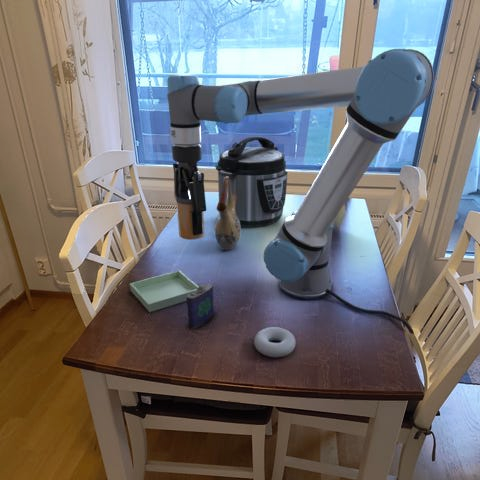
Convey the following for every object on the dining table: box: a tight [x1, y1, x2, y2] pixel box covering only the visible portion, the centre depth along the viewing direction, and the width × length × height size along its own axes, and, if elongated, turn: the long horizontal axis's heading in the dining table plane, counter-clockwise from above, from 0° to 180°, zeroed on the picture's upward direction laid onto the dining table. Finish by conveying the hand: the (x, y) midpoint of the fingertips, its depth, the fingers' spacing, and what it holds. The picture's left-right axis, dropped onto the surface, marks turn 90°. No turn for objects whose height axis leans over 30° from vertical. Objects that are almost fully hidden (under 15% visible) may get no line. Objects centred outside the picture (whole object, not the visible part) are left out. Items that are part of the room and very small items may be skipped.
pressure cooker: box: [214, 135, 288, 227], centre depth 170 cm, size 30×28×32 cm
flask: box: [186, 283, 215, 329], centre depth 109 cm, size 9×3×11 cm, turn 144°
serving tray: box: [129, 269, 199, 313], centre depth 124 cm, size 14×16×2 cm
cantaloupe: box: [333, 203, 347, 231], centre depth 163 cm, size 15×15×15 cm
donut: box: [253, 326, 296, 358], centre depth 101 cm, size 10×4×10 cm
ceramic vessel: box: [214, 177, 242, 251], centre depth 146 cm, size 16×9×25 cm, turn 166°
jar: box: [174, 190, 205, 241], centre depth 118 cm, size 8×8×12 cm
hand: (191, 229), depth 121 cm, fingers closed on jar, 7 cm apart
